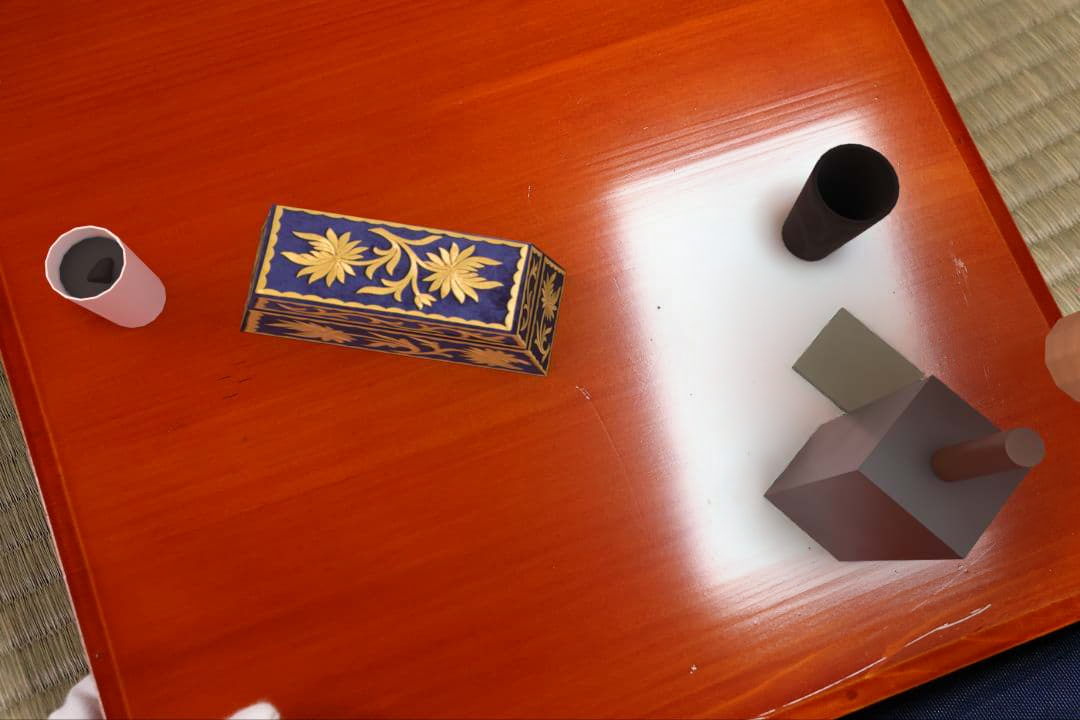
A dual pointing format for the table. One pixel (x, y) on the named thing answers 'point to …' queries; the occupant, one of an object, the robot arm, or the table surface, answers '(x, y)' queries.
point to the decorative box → (404, 290)
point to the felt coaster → (854, 364)
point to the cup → (840, 201)
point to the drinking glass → (104, 277)
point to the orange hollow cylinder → (1065, 354)
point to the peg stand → (905, 477)
